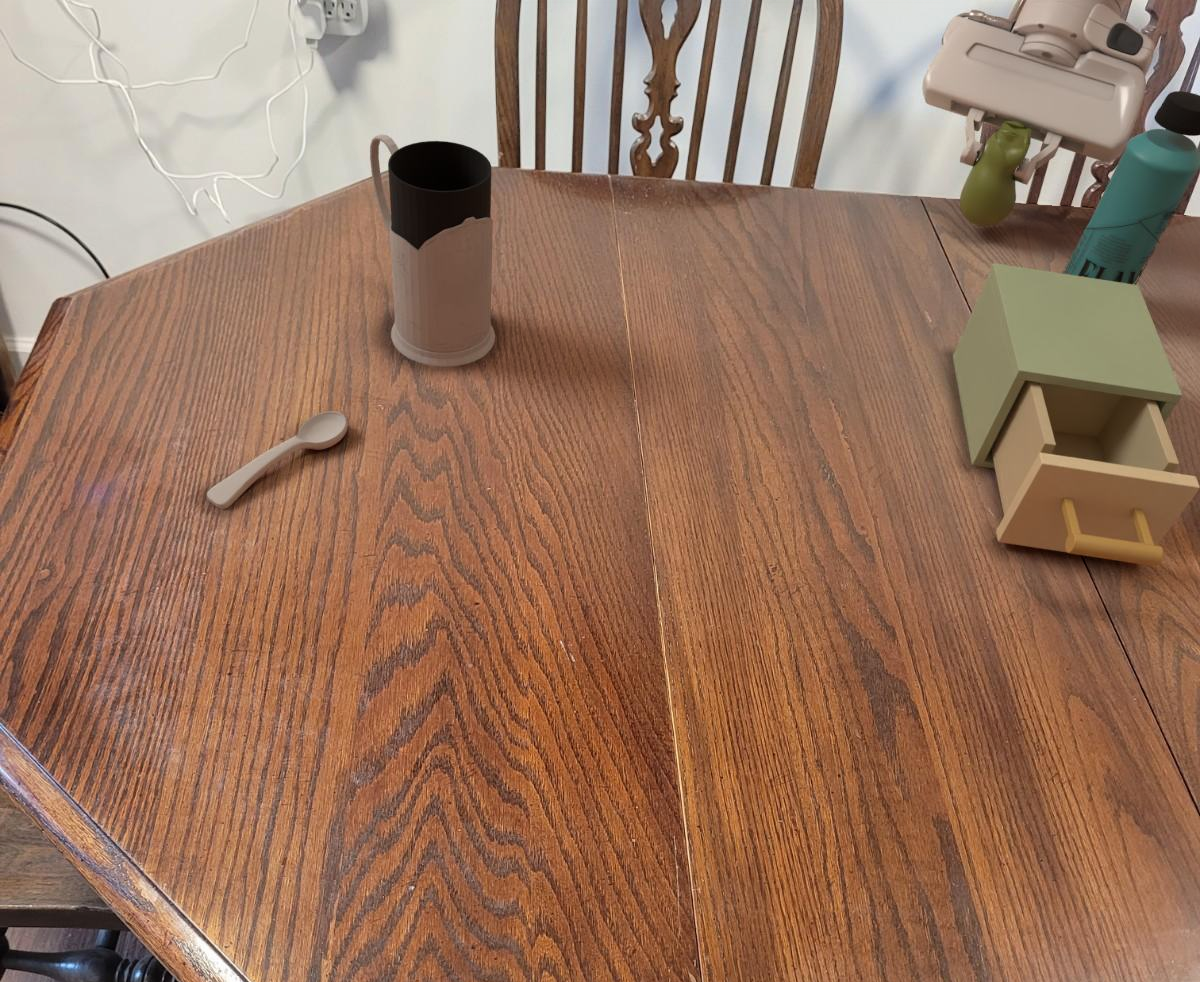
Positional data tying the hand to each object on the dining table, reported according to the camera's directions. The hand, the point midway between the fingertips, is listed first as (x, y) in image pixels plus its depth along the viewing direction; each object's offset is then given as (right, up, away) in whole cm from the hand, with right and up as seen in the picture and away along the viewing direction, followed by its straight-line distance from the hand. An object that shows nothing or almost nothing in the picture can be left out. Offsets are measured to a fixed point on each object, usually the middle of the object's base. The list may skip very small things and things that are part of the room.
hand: (993, 171), depth 102 cm
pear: (0, -3, +5) cm, 6 cm away
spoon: (-62, -32, -26) cm, 74 cm away
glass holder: (-53, -18, -13) cm, 58 cm away
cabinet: (-2, -27, -14) cm, 30 cm away
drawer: (-3, -35, -23) cm, 42 cm away
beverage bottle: (+8, -14, -2) cm, 16 cm away
